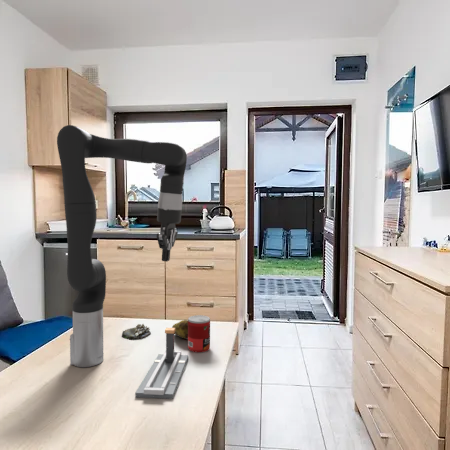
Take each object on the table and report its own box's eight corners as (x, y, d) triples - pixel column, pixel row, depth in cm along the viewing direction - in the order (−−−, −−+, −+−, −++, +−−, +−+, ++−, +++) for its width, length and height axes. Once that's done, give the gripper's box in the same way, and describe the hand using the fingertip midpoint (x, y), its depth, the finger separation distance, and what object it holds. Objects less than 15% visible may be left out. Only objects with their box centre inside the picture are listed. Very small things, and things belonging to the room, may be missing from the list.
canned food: (207, 353, 121) (207, 322, 121) (185, 352, 123) (185, 320, 122) (212, 345, 129) (212, 315, 128) (190, 343, 130) (191, 314, 130)
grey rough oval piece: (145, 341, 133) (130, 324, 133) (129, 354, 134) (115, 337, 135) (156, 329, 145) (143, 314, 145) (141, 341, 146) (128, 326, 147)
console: (134, 398, 92) (134, 389, 92) (159, 357, 118) (158, 350, 118) (172, 399, 92) (172, 390, 92) (188, 358, 118) (188, 351, 117)
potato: (191, 332, 143) (191, 312, 142) (197, 344, 130) (197, 322, 130) (171, 334, 141) (171, 314, 140) (174, 346, 128) (174, 324, 128)
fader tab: (164, 362, 111) (164, 330, 110) (166, 358, 114) (166, 327, 113) (173, 362, 111) (173, 330, 110) (175, 358, 114) (175, 327, 113)
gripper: (166, 206, 119) (162, 256, 121) (150, 206, 106) (146, 263, 108) (187, 208, 118) (183, 259, 119) (173, 209, 105) (169, 266, 107)
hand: (165, 260), depth 114 cm, fingers closed
